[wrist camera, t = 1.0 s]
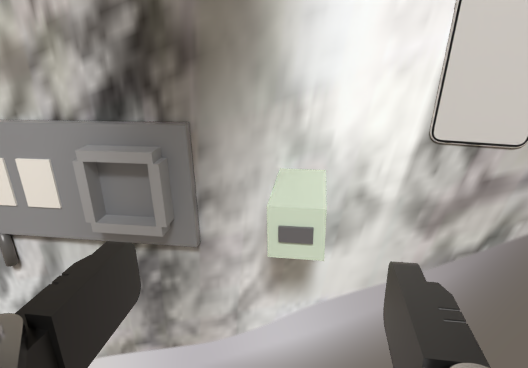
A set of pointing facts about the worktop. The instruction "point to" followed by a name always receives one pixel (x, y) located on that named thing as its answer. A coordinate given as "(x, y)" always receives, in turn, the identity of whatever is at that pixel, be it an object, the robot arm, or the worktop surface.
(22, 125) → the power strip
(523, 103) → the smartphone
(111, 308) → the robot arm
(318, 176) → the block
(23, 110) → the worktop surface
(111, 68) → the worktop surface
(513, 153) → the worktop surface
